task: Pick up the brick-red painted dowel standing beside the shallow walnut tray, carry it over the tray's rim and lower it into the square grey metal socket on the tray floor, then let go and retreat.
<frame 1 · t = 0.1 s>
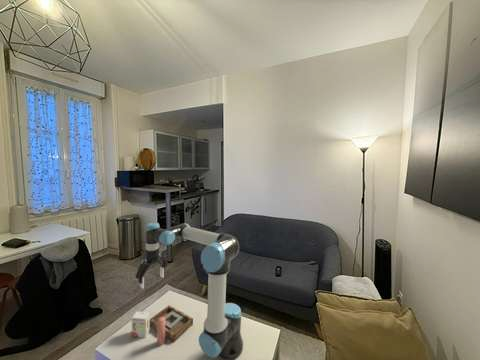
hand: (152, 282, 121), 28 cm above the table, fingers open, 13 cm apart
peg: (161, 342, 111), on the table
socket: (171, 321, 124), in the tray, point 2 cm above the table
ink box: (140, 334, 117), on the table
tray: (171, 325, 124), on the table
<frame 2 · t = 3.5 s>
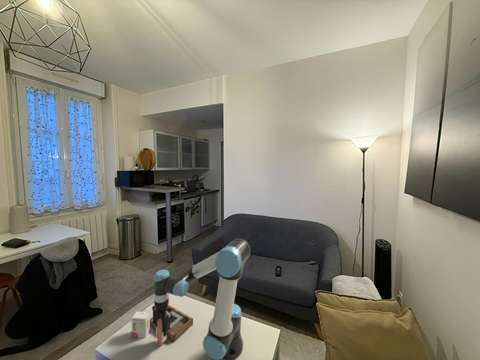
hand: (161, 338, 111), 3 cm above the table, fingers closed on peg, 4 cm apart
peg: (161, 342, 111), on the table, touching gripper
everything else where it was.
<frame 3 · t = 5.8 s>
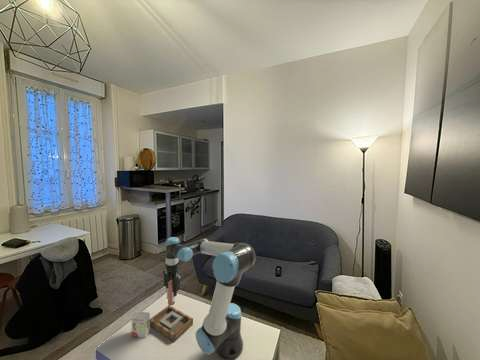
hand: (171, 299, 123), 17 cm above the table, fingers closed on peg, 4 cm apart
peg: (171, 303, 123), point 14 cm above the table, touching gripper
everything else where it was.
when the fingers open (5 cm above the table, at t = 7.9 s): peg drops 1 cm, resting on tray.
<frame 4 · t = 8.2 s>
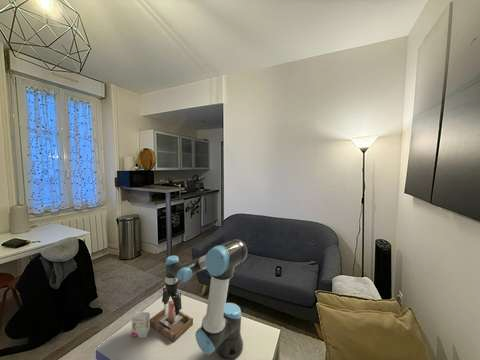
hand: (171, 316, 123), 6 cm above the table, fingers open, 8 cm apart
peg: (171, 323, 124), point 1 cm above the table, touching tray
everything else where it was.
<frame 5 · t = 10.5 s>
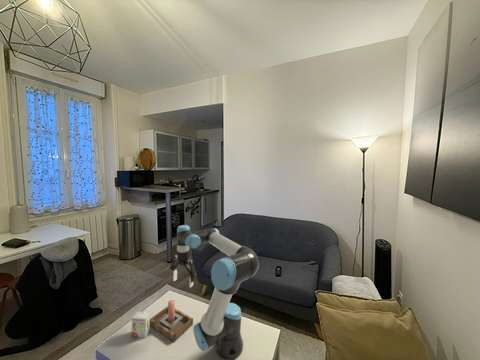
hand: (183, 283, 124), 26 cm above the table, fingers open, 13 cm apart
nothing on the table moved.
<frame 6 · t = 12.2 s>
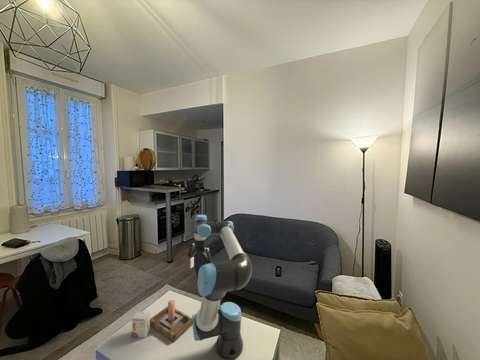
hand: (199, 270, 130), 32 cm above the table, fingers open, 13 cm apart
nothing on the table moved.
at the end: peg 0.0 cm off-centre on the socket, point 1.0 cm above the socket's base; peg tilted 0°; the gripper is holding nothing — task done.
